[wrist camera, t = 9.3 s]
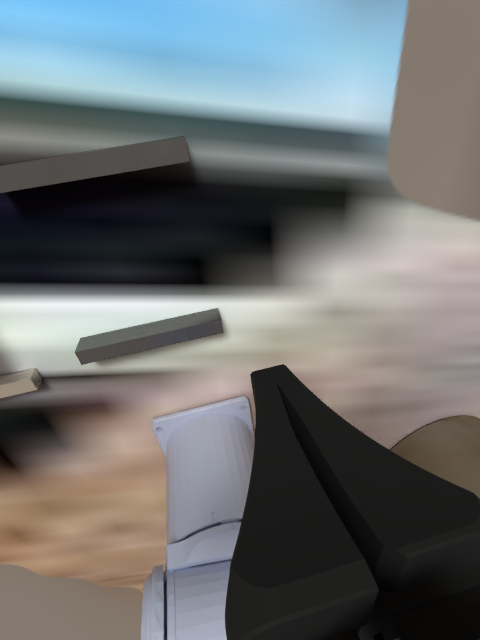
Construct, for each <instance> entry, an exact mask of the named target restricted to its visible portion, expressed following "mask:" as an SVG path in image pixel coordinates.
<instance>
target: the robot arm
mask: <svg viewBox="0 0 480 640" xmlns="http://www.w3.org/2000/svg"><path fill="white" fill-rule="evenodd" d="M251 382H252V388H253V395H254V402H255V408H256V428H255V436H254V430H253V424H252V418H251V412H250V406H249V401H248V398H247V397H245V396H241V397H237V398H233V399H229V400H225V401H221V402H217V403H213V404H209V405H205V406H201V407H197V408H193V409H189V410H185V411H181V412H177V413H173V414H169V415H165V416H161V417H157V418H154V419H153V420H152V421H151V427H152V429H153V431H154V433H155V436H156V438H157V440H158V442H159V444H160V447H161V449H162V451H163V453H164V456H165V458H166V470H167V546H166V567H165V572H163V565H160V566H155V567H154V568H153V570H152V574H150V575H149V576H148V578H147V579H146V580H145V582H144V590H143V605H142V623H141V625H142V626H141V640H480V499H479V498H478V496H477V495H476V494H475V493H473V492H471V491H468V490H466V489H464V488H462V487H460V486H458V485H455V484H453V483H451V482H449V481H447V480H445V479H442V478H440V477H438V476H436V475H434V474H432V473H430V472H428V471H426V470H424V469H423V468H421V467H419V466H417V465H415V464H413V463H411V462H409V461H408V460H406V459H404V458H403V457H401V456H399V455H397V454H396V453H394V452H392V451H391V450H389V449H387V448H385V447H384V446H382V445H380V444H379V443H377V442H376V441H374V440H373V439H371V438H370V437H368V436H367V435H365V434H364V433H362V432H361V431H359V430H358V429H356V428H355V427H354V426H352V425H351V424H350V423H348V422H347V421H346V420H344V419H343V418H342V417H340V416H339V415H338V414H337V413H335V412H334V411H333V410H332V409H330V408H329V407H328V406H327V405H326V404H324V403H323V402H322V401H321V400H320V399H319V398H318V397H317V396H315V395H314V394H313V393H312V392H311V391H310V390H309V389H308V388H307V387H306V386H305V385H304V384H303V383H302V382H301V381H300V380H299V379H298V378H297V377H296V376H295V375H294V374H293V373H292V372H291V371H290V370H289V369H288V368H287V366H285V365H284V364H283V365H278V366H274V367H270V368H266V369H262V370H258V371H254V372H252V373H251ZM158 427H160V428H158Z"/></svg>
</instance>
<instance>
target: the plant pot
mask: <svg viewBox="0 0 480 640" xmlns="http://www.w3.org/2000/svg"><path fill="white" fill-rule="evenodd" d="M391 451H392V452H394V453H396V454H397V455H399V456H401V457H403V458H404V459H406V460H408V461H409V462H411V463H413V464H415V465H417V466H419V467H421V468H423V469H424V470H426V471H428V472H430V473H432V474H434V475H436V476H438V477H440V478H442V479H445V480H447V481H449V482H451V483H453V484H455V485H458V486H460V487H462V488H464V489H466V490H468V491H471V492H473V493H475V494H476V495H477V496H478V498H479V499H480V419H479V418H477V417H473V416H455V417H449V418H445V419H442V420H439V421H436V422H433V423H431V424H428V425H426V426H424V427H422V428H420V429H418V430H417V431H415V432H413V433H412V434H410V435H408V436H407V437H406V438H404V439H403V440H401V441H400V442H399V443H398V444H397V445H395V446H394V447H393V448H392V449H391Z"/></svg>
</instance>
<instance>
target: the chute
mask: <svg viewBox="0 0 480 640" xmlns="http://www.w3.org/2000/svg"><path fill="white" fill-rule="evenodd" d="M184 162H190V158H189V153H188V148H187V143H186V138H185V137H184V136H182V137H175V138H169V139H163V140H156V141H150V142H144V143H137V144H131V145H125V146H118V147H112V148H106V149H99V150H93V151H87V152H80V153H74V154H68V155H61V156H55V157H49V158H42V159H36V160H30V161H23V162H17V163H11V164H4V165H0V193H3V192H9V191H15V190H21V189H27V188H33V187H39V186H45V185H51V184H57V183H64V182H70V181H76V180H82V179H88V178H94V177H100V176H106V175H112V174H118V173H124V172H130V171H136V170H142V169H148V168H154V167H160V166H166V165H172V164H178V163H184ZM219 333H223V327H222V322H221V318H220V315H219V311H218V308H216V309H212V310H207V311H202V312H198V313H193V314H189V315H184V316H180V317H175V318H170V319H166V320H161V321H157V322H152V323H148V324H143V325H138V326H134V327H129V328H125V329H120V330H116V331H111V332H106V333H102V334H97V335H93V336H88V337H84V338H80V341H79V343H78V345H77V348H76V350H75V354H76V356H77V357H78V359H79V361H80V363H81V365H83V364H87V363H92V362H96V361H100V360H105V359H109V358H113V357H118V356H122V355H127V354H131V353H135V352H140V351H144V350H149V349H153V348H157V347H162V346H166V345H171V344H175V343H179V342H184V341H188V340H193V339H197V338H201V337H206V336H210V335H215V334H219ZM41 382H42V378H41V376H40V375H39V373H38V372H37V370H36V369H35V368H34V369H30V370H25V371H21V372H16V373H12V374H8V375H3V376H0V398H4V397H8V396H13V395H17V394H21V393H25V392H30V391H34V390H38V388H39V386H40V384H41Z"/></svg>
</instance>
